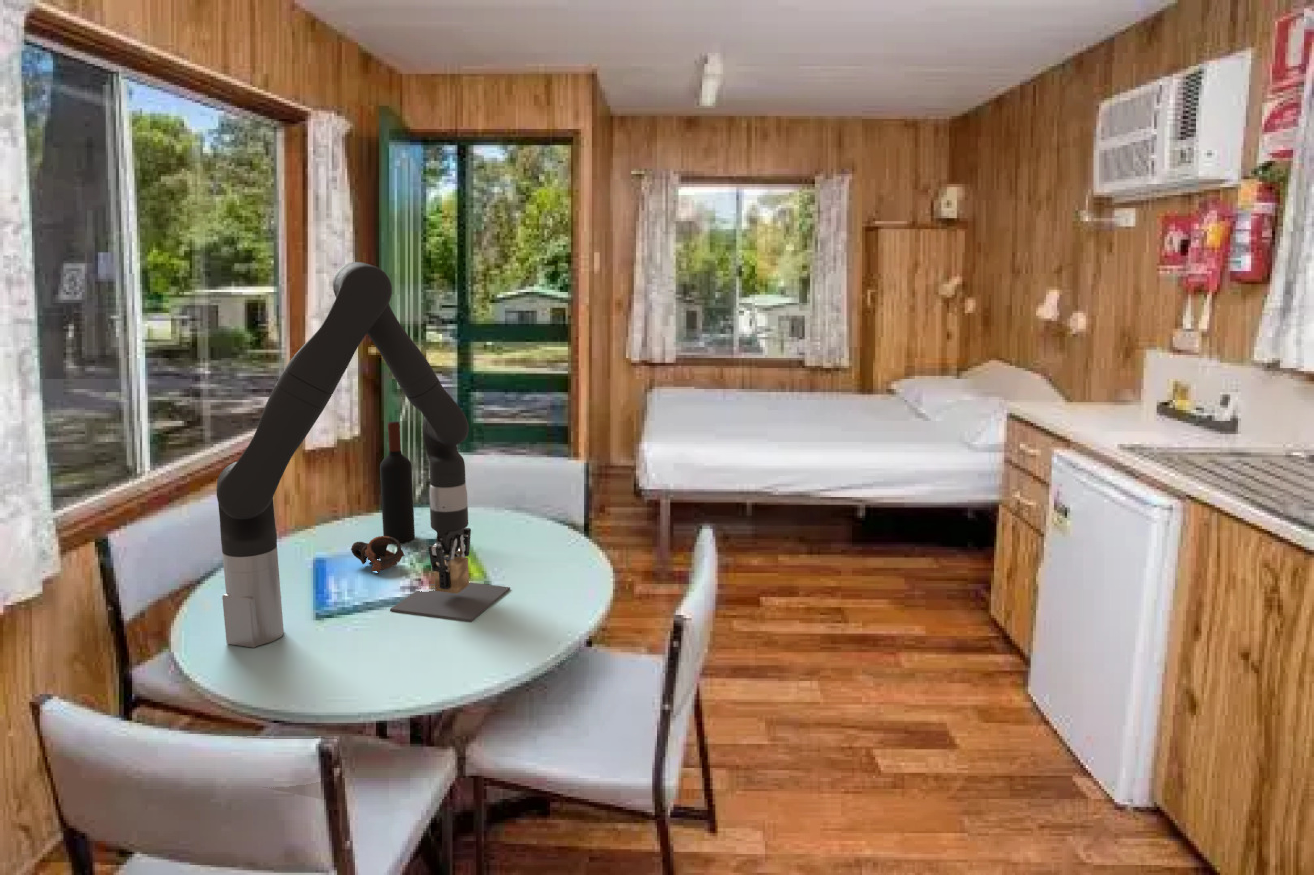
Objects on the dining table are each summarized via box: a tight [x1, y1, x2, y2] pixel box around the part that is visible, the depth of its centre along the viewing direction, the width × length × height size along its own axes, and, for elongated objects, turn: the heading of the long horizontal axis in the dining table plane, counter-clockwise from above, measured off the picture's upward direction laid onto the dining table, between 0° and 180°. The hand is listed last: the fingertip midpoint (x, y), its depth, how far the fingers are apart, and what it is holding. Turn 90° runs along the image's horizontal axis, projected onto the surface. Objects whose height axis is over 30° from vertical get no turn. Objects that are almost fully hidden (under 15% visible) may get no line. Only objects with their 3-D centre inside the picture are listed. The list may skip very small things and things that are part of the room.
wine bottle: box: [379, 420, 416, 545], centre depth 222 cm, size 8×8×30 cm
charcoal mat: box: [389, 580, 511, 622], centre depth 187 cm, size 18×18×1 cm
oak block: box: [434, 554, 470, 594], centre depth 186 cm, size 5×5×6 cm
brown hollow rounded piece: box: [350, 535, 405, 573], centre depth 205 cm, size 12×10×8 cm
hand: (452, 583), depth 186 cm, fingers closed on oak block, 5 cm apart
